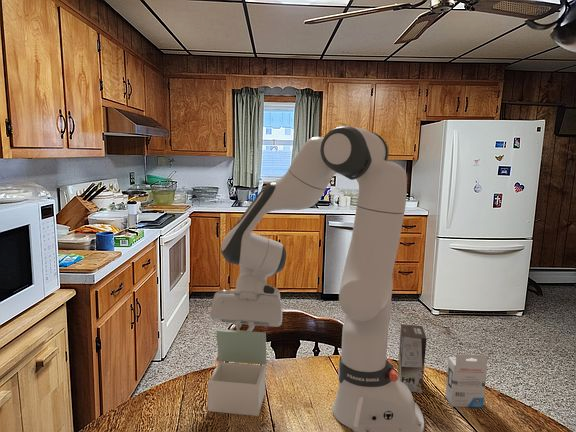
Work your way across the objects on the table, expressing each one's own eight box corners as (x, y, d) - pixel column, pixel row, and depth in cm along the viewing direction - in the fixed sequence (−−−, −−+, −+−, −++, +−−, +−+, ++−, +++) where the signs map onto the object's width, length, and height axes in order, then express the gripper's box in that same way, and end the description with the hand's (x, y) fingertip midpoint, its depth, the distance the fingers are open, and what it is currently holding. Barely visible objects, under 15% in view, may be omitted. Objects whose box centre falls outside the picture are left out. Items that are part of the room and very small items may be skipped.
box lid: (266, 364, 109) (266, 362, 110) (265, 334, 105) (265, 332, 106) (218, 360, 110) (219, 358, 111) (216, 330, 106) (217, 328, 107)
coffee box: (423, 393, 111) (427, 338, 109) (399, 390, 113) (402, 336, 110) (419, 376, 120) (423, 325, 118) (397, 373, 121) (400, 323, 119)
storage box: (265, 392, 110) (265, 365, 109) (258, 416, 100) (258, 386, 99) (219, 388, 111) (219, 361, 110) (208, 411, 102) (207, 381, 100)
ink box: (475, 396, 110) (480, 346, 108) (483, 407, 106) (489, 355, 103) (444, 395, 110) (448, 345, 108) (451, 407, 106) (456, 354, 103)
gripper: (213, 284, 115) (202, 331, 107) (283, 289, 112) (277, 337, 104) (217, 294, 120) (207, 339, 112) (285, 299, 117) (280, 345, 109)
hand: (242, 338), depth 108 cm, fingers closed, pressing on box lid
